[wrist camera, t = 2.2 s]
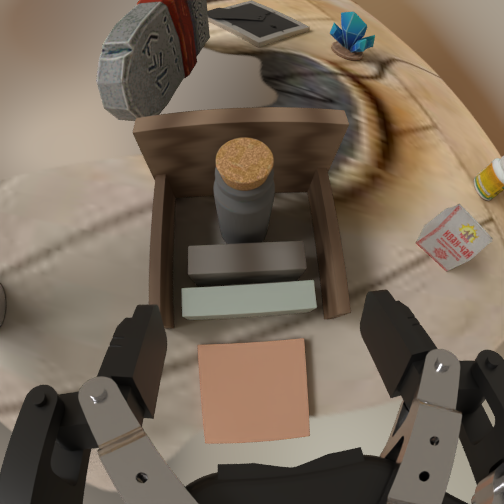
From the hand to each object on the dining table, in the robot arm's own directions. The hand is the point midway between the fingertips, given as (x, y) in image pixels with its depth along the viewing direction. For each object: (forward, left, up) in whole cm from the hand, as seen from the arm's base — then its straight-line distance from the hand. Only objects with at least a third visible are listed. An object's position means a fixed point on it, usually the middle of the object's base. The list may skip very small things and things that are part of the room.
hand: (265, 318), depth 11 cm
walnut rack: (0, +11, -23) cm, 26 cm away
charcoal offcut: (0, +8, -24) cm, 25 cm away
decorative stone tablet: (-12, +43, -24) cm, 51 cm away
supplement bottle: (+45, +20, -24) cm, 55 cm away
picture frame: (+5, +67, -24) cm, 72 cm away
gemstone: (+25, +55, -24) cm, 65 cm away
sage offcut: (0, +4, -24) cm, 24 cm away
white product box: (+28, +9, -24) cm, 38 cm away
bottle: (0, +13, -24) cm, 27 cm away
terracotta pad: (0, -7, -23) cm, 24 cm away
